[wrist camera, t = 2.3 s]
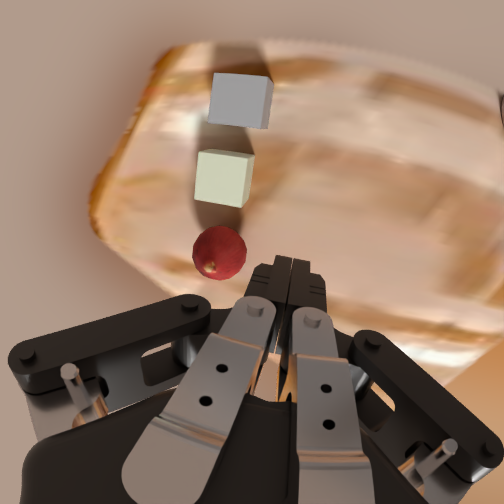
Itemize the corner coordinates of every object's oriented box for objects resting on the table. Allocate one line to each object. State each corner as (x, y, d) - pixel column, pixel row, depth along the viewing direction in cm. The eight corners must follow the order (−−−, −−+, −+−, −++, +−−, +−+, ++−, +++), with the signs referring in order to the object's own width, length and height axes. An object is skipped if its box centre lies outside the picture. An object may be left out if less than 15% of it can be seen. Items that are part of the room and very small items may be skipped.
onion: (225, 270, 37) (205, 305, 30) (195, 235, 36) (168, 263, 29) (261, 246, 35) (248, 279, 28) (230, 207, 34) (208, 231, 26)
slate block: (228, 80, 28) (214, 72, 23) (274, 84, 27) (267, 76, 23) (222, 123, 30) (207, 123, 25) (267, 128, 29) (260, 128, 25)
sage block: (211, 148, 31) (198, 151, 28) (255, 154, 31) (247, 158, 27) (206, 190, 34) (194, 199, 30) (248, 198, 33) (240, 207, 29)
